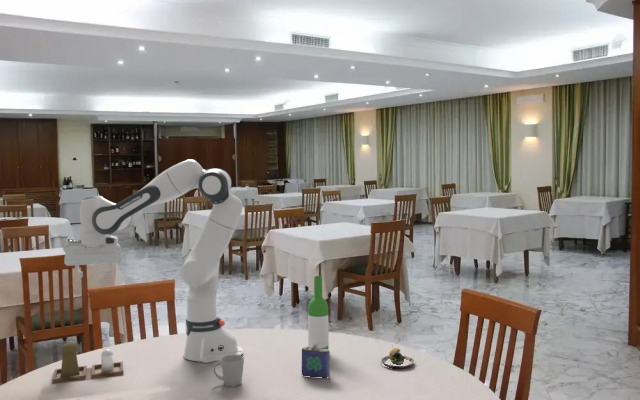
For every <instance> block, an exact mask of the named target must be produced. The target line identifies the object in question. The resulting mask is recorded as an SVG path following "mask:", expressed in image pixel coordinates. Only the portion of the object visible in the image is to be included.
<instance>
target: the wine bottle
mask: <svg viewBox="0 0 640 400" xmlns="http://www.w3.org/2000/svg"><path fill="white" fill-rule="evenodd" d="M313 279H314V284H313V285H314V286H313V287H314V288H313V289H314V291H313V292H314V293H313V294H314V295H313V298H311V300H310V301H309V302H308V306H307V307H308V308H307V310H308V311H307V312H308V313H307V314H308V315H307V319H308V320H307V325H308V326H307V334H308V335H307V337H308V338H307V339H308V340H307V343H308V345H307V346H308V347H309V348H310V347H313V346H314V345H313V344H316V343H317V344H318V345H317V349H328V350H329V349H330V348H329V347H330V346H329V344H330V342H329V304H328V301H327V299H325V298H324V297H323V277H322V276H321V275H315V276H314V278H313ZM329 351H330V350H329Z"/></svg>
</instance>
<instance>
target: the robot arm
mask: <svg viewBox="0 0 640 400" xmlns="http://www.w3.org/2000/svg"><path fill="white" fill-rule="evenodd" d="M232 186H233V180H232V176H231V175H230V173H229V172H227V170H225V169H223V168H219V167H217V168H215V167H214V168H203V167H202V165H201V164H200V163H199V162H197V160H196V159H186V160H184V161H181V162H178V163H177V164H174V165H172V166H171V167H169V168H167V169H165V170H163V171H162V172H161V173H159V174H158V175H157V176H155V177H154V178H153V179H152V180H151V181H149V182H148V183H147V184H146V185H144V186H142V188H140V190H138V191H136V192H134V193H133V194H131V195H129V196H127V197H126V198H125V199H122V200H121V201H119V202H117V203H116V202H112V201H110V200H108V199H106V198H104V197H103V196H102V195H94V196H90V197H89V196H88V197H85V198H83V199H82V200H81V202H80V205H79V222H80V231H79V233H80V234H79V235H80V238H79V239H75V240H71V239H70V240H67V241H65V242H64V243H63V245H62V251H63V252H64V261H63V262H64V265H65V266H67V267H68V266H69V267H70V266H71V267H73V266H74V269H75V271H76V272H77V274H78V278H83V277H84V275H83V273H84V271H81V270H80V269H79V268H80V266H85V265H88V266H89V265H102V264H103V265H104V264H108V268H107V269H105V272H104V273H105V276H110V274H111V273H110V271H112V268H113V264H119V263H122V261H123V254H122V249H121V246H120V244H119V238H118V237H117V236H115V235H112V234H114V233H115V232H118V231H121V230H124V229H125V228H127V227H128V226H129V225H130V224H131V222H132V216H134V215H135V214H137V213H138V212H140V211H142V210H144V209H147V208H148V207H151V206H156V205H159V204H164V203H165V204H166V203H168V202H170V201H174V200H176V199H178V198H180V197H181V196H183V195H185V194H187V193H188V192H190V191H192V190H194V189H199V192H200V194H201V195H203V197H205V198H206V199H207V200H208V201H209V202H210V203H211V204H213V205H212V208H211V211H210V213H209V214H208V215H209V216H208V217H207V219H206V222H205V224H204V225H203V228H202V230H201V232H200V234H199V236H198V238H197V239H196V241H195V243H194V245H193V246H192V248H191V250H190V252H189V253H188V256H187V258H186V259H185V261H184V263H183V265H182V266H181V269H180V277H181V279H182V281H183V282H184V283H185V284H186V285H187V286H188V293H187V296H186V319H185V334H186V339H185V347H184V352H183V355H182V356H183V359H186V360H188V361H193V362H199V363H205V364H206V363H213V362H217V361H219V360H221V358H222V357H224V356H227V355H242V354H243V355H244V349H243V348H242V346H240V345H239V344H238V342H237V338H236V337H235V335H234V334H233V333H232V332H230V331H229V330H228V329H226V328H224V326H225V324H226V322H225V320H223V319H222V318H220V317H219V316H217V294H218V285H219V273H220V272H219V271H220V265H221V264H220V260H221V258H222V256H223V255H224V253H225V251H226V249H227V248H228V247H229V243H230V242H231V240H232V237H233V235H234V233H235V230H236V228H237V226H238V224H239V221H240V219H241V215H242V211H243V207H244V205H243V202H242V200H241V199H240V197H238V196H236V195H235V194H233V193H232V191H231V189H232ZM243 355H242V356H243Z"/></svg>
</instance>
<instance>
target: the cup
mask: <svg viewBox="0 0 640 400" xmlns="http://www.w3.org/2000/svg"><path fill="white" fill-rule="evenodd" d="M244 363H245V358H244V356H243V355H242V356H241V355H227V356H224V357H222V358H221V360H218V361H215V362H214V365H213V373H214V375H215V377H216V378H217V379H218V380H220V381H223V384H224V385H225V386H226V387H236V386H237V387H238V386H240V385H241V384H242V382H243V381H242V380H243V372H244ZM217 365H221V370H222V376H221V375H219V374H218V373H217V372H216V367H217ZM239 384H240V385H239Z"/></svg>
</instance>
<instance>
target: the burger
mask: <svg viewBox="0 0 640 400" xmlns="http://www.w3.org/2000/svg"><path fill="white" fill-rule="evenodd" d="M391 346H392V349H390V351H389V352H388V355H387V356H383V357H382V358H381V363H383V364H384V365H385V366H387V367H389V368H393V369H394V368H398V367H399V368H406V367H407V368H408V367H409V366H411V365H412V364H414V359H413V358H411V357H408V356H406V355H402V353H401V349H400V348H397V347H394V346H393V345H391ZM388 359H390V360H391V362H392V363H393V364H396V365H401V364H403V362H404V359H406V360H409V361H410V362H411V364H410V365H407V366H393V365H391V364H390V365H388V364H385V362H386V361H387V360H388Z"/></svg>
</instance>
